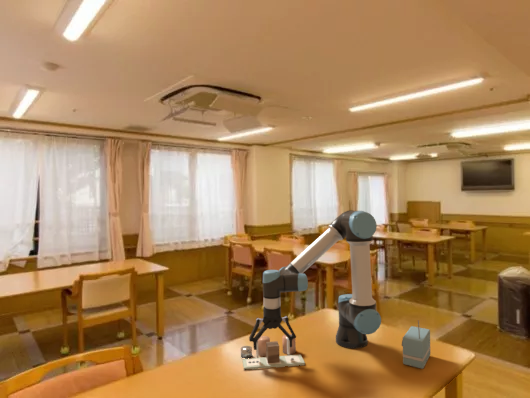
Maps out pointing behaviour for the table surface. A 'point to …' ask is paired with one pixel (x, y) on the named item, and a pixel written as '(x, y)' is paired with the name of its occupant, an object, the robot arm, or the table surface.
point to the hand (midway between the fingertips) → (273, 355)
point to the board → (263, 363)
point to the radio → (416, 347)
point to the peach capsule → (292, 349)
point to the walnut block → (272, 352)
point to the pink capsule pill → (262, 345)
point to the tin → (246, 352)
